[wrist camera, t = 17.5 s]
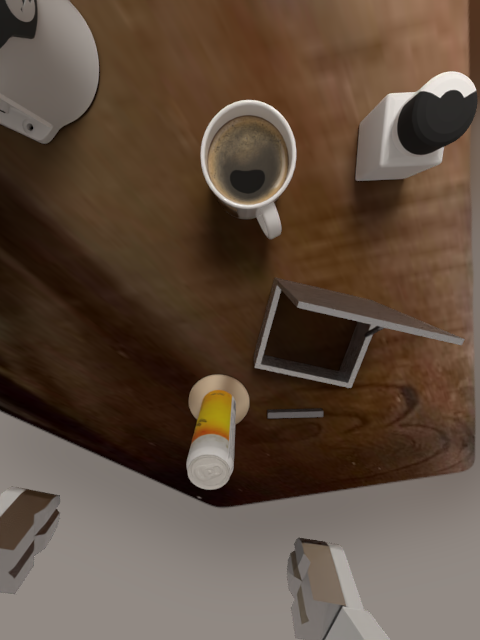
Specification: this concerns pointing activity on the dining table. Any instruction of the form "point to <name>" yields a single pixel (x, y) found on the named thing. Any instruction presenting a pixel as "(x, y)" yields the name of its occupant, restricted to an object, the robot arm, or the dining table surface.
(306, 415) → the bar
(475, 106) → the medicine bottle
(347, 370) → the case
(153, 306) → the dining table surface
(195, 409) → the pad
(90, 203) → the dining table surface
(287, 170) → the mug
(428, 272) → the dining table surface
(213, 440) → the beer can
